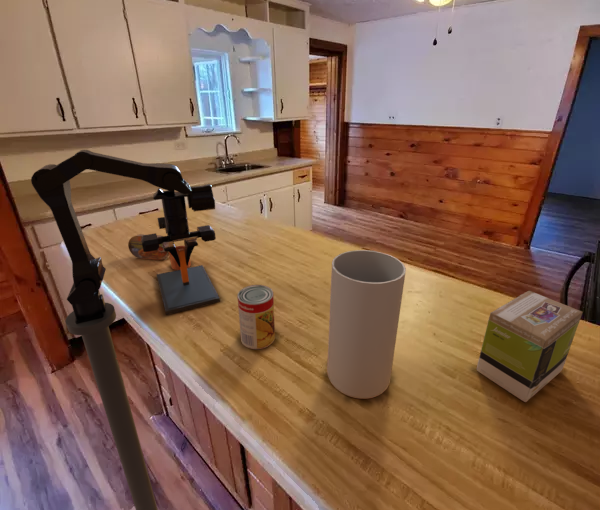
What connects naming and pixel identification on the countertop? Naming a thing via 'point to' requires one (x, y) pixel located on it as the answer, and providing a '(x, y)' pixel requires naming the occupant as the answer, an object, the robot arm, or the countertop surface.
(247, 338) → the canned food
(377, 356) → the cylinder vase
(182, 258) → the stylus
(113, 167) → the robot arm
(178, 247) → the pen cup
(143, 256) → the tin
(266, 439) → the countertop surface
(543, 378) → the tea box
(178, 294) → the tablet
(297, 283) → the countertop surface
